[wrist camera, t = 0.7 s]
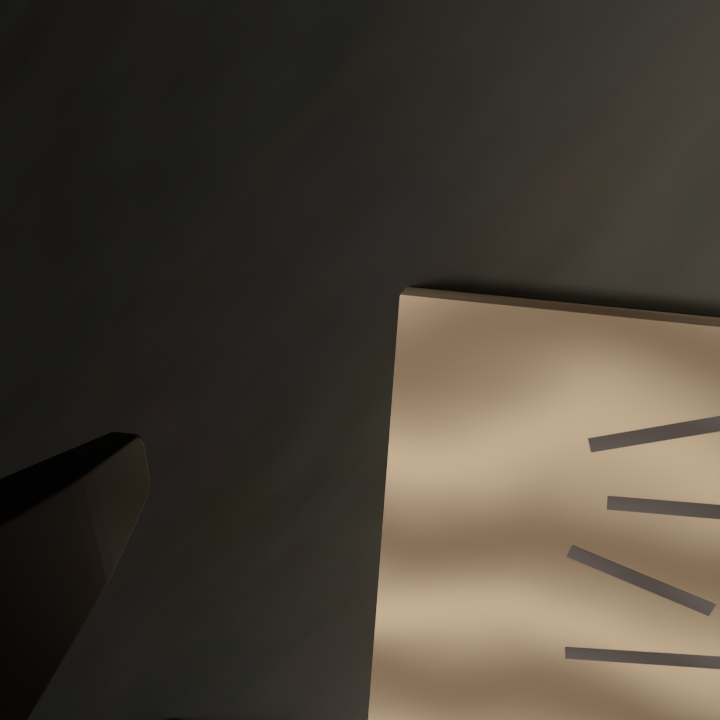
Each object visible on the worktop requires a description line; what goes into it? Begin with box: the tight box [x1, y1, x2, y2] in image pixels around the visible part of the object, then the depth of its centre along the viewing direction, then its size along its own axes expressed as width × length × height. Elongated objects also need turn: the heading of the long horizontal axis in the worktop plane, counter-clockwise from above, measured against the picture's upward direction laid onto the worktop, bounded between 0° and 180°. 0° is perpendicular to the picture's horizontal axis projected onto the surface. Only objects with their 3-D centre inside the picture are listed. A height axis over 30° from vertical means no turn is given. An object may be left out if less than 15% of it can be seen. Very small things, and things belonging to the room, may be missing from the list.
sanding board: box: [368, 287, 720, 720], centre depth 23 cm, size 18×20×2 cm
